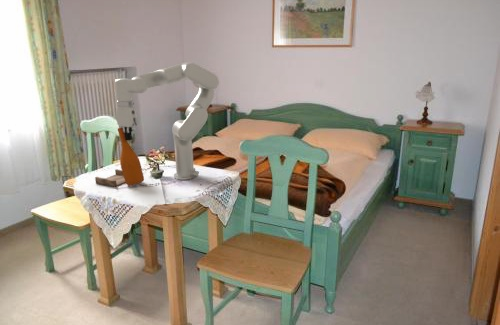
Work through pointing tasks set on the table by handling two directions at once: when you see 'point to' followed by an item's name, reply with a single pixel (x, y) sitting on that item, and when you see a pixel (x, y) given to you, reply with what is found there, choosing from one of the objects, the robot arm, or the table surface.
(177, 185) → the table surface
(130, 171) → the wine bottle
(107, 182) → the u rest
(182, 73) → the robot arm
